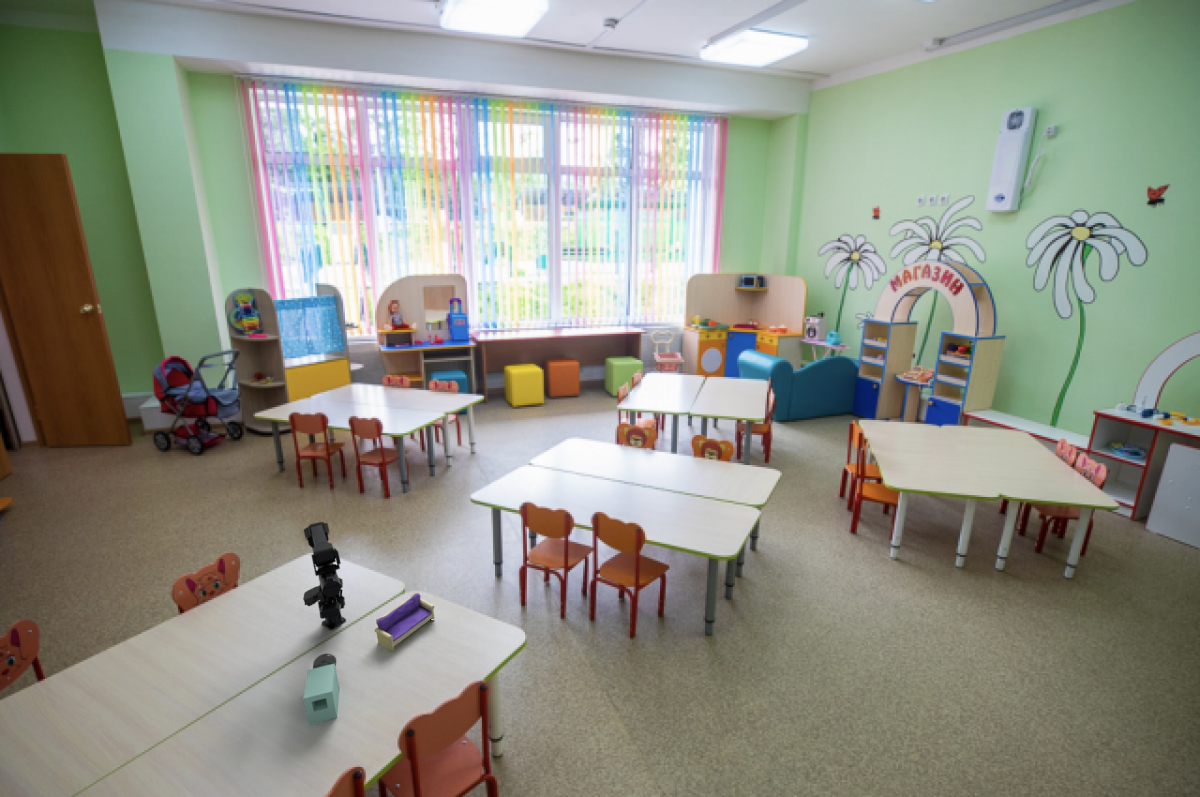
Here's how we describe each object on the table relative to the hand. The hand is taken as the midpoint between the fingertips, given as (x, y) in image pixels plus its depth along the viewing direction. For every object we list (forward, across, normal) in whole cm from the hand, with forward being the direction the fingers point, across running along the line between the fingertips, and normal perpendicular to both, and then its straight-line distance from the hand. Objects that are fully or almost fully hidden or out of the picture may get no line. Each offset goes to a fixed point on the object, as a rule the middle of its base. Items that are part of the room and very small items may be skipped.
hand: (335, 617), depth 204 cm
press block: (+13, +27, -3) cm, 30 cm away
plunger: (+10, +20, -3) cm, 23 cm away
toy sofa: (+13, 0, +23) cm, 27 cm away
